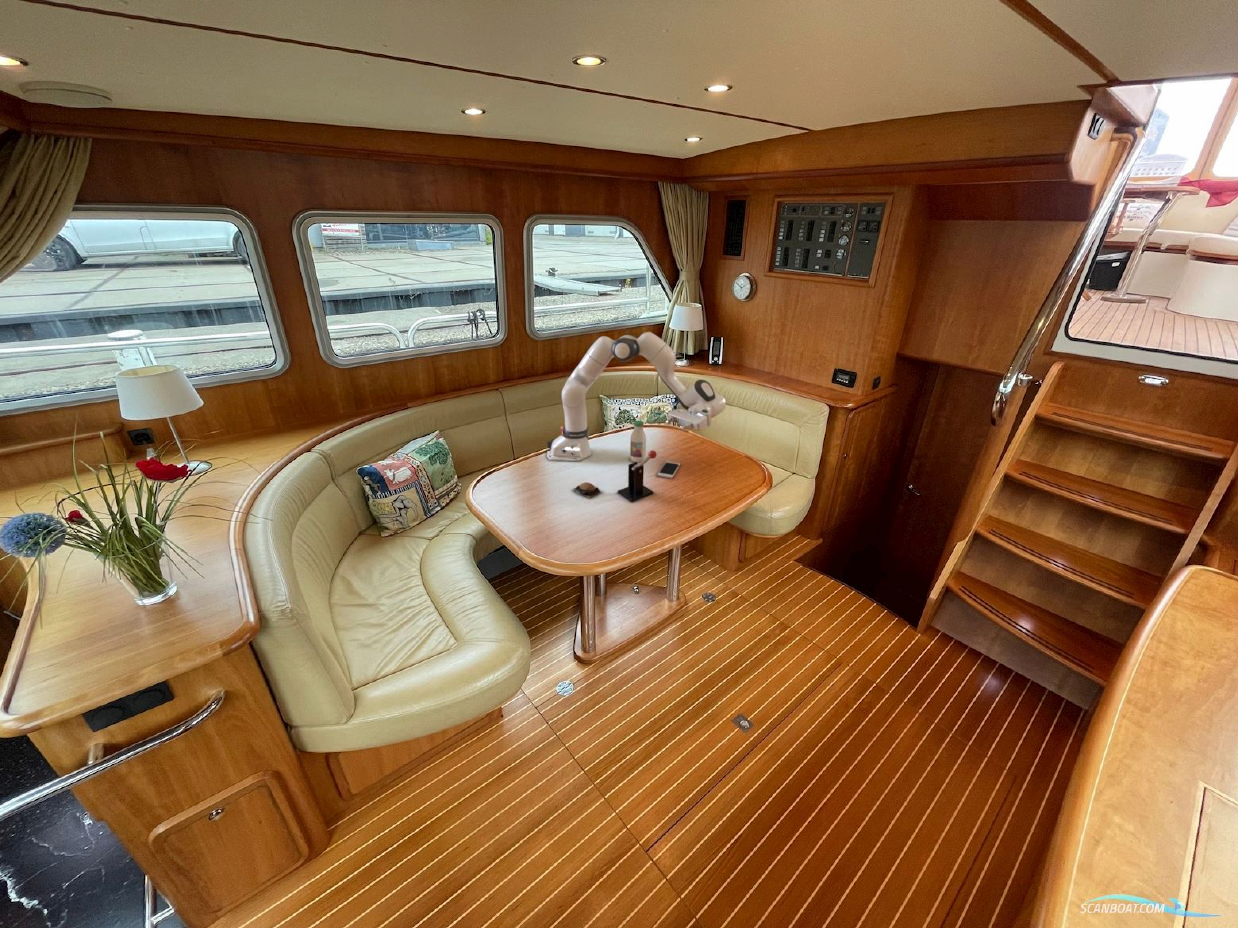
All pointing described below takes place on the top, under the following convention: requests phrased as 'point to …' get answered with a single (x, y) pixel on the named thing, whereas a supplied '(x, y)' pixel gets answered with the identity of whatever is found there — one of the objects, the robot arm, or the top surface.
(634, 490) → the bracket
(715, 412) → the robot arm
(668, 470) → the smartphone
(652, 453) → the lever
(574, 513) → the top surface
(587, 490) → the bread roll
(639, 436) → the milk bottle
